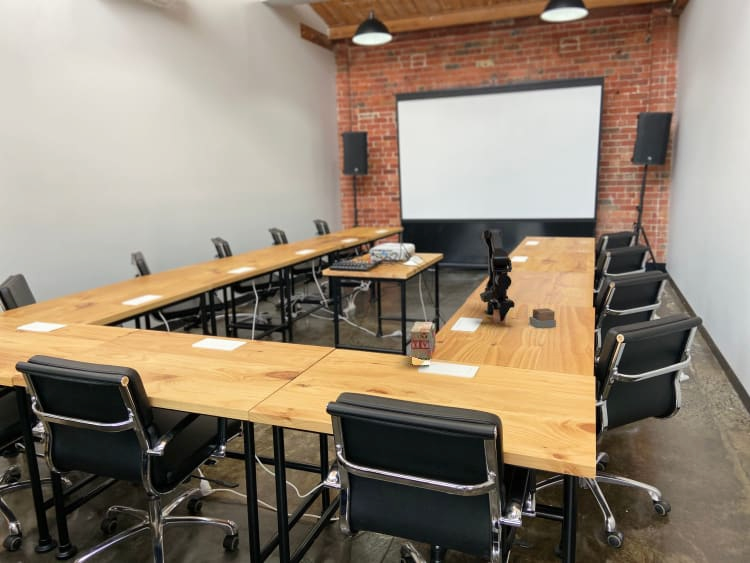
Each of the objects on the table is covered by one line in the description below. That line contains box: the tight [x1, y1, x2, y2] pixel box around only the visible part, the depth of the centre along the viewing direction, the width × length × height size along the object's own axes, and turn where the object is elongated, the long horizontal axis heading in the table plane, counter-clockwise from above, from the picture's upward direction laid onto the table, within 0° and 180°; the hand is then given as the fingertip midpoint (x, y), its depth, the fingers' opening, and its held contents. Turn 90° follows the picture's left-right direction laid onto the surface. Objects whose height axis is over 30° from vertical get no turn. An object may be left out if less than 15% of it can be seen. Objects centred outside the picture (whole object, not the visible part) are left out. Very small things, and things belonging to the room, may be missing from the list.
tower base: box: [528, 316, 557, 329], centre depth 227 cm, size 8×8×4 cm
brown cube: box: [492, 309, 507, 324], centre depth 234 cm, size 5×5×5 cm
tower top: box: [532, 307, 556, 321], centre depth 226 cm, size 6×6×4 cm
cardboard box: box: [410, 321, 436, 360], centre depth 191 cm, size 21×6×12 cm, turn 169°
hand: (499, 319), depth 235 cm, fingers closed on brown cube, 5 cm apart
